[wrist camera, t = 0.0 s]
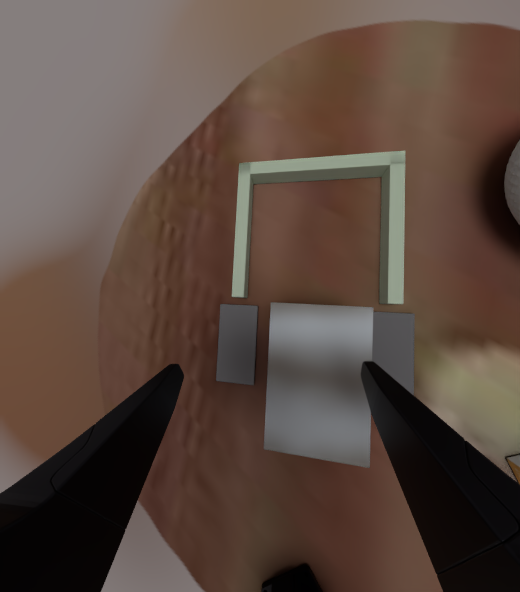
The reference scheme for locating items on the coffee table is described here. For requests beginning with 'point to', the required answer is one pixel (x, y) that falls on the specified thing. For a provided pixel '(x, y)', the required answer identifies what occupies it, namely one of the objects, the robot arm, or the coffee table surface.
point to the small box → (515, 465)
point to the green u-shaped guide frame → (386, 326)
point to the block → (319, 382)
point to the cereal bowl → (513, 183)
